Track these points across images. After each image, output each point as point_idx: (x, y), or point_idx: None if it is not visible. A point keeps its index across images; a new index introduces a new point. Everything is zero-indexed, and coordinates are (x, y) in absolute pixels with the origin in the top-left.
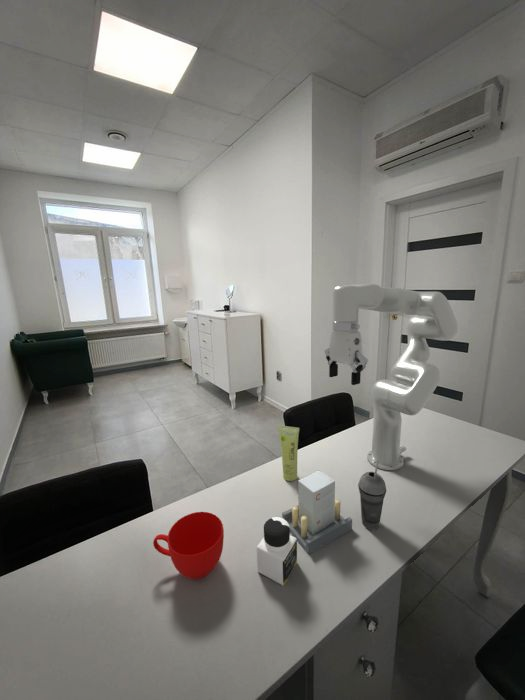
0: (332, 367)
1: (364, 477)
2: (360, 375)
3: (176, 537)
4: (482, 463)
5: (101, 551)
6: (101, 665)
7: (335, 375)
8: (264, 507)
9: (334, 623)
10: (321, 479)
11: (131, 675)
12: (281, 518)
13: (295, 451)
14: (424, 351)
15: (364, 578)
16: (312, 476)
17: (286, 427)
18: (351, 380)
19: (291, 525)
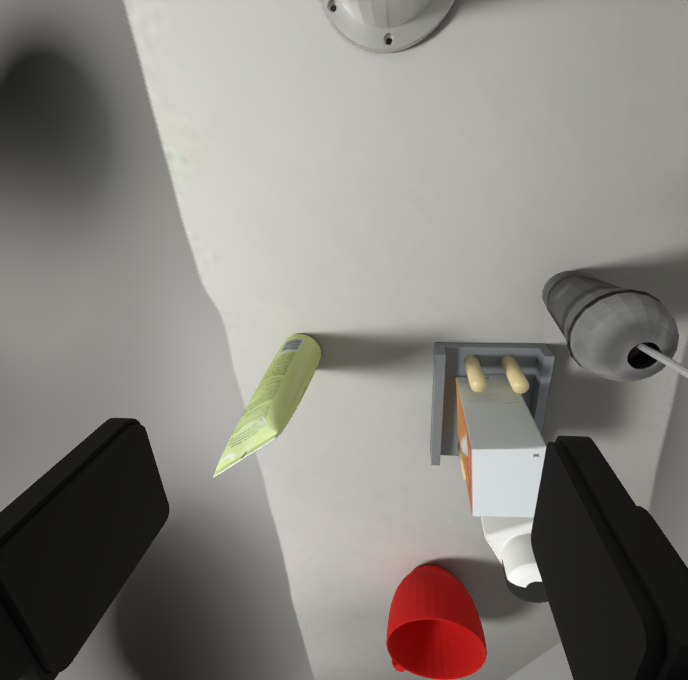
0: (73, 628)
1: (617, 376)
2: (655, 536)
3: (401, 636)
4: None
5: (328, 647)
6: (486, 670)
7: (148, 460)
8: (369, 453)
9: (650, 493)
10: (515, 473)
11: (516, 657)
12: (528, 572)
13: (300, 396)
14: None
15: (643, 408)
16: (485, 481)
17: (239, 459)
18: (550, 596)
19: (457, 449)
